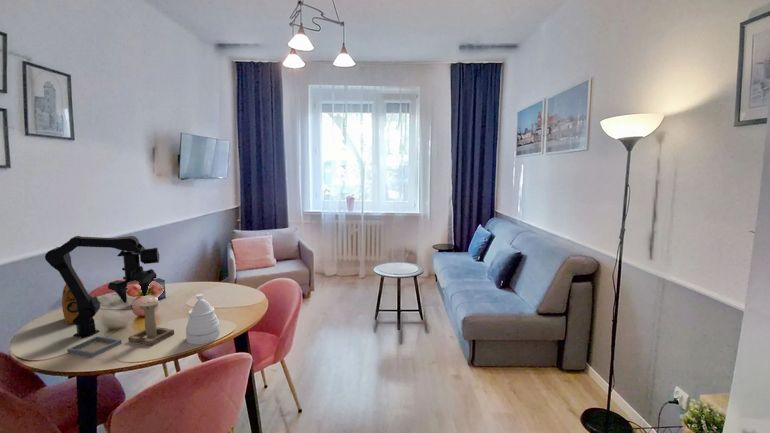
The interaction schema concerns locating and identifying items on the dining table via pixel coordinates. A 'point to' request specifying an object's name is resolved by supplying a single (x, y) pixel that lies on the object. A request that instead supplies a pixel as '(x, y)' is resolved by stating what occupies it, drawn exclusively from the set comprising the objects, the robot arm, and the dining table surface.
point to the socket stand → (145, 341)
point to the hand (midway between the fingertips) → (135, 298)
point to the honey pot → (202, 323)
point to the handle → (149, 318)
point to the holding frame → (91, 354)
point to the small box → (162, 282)
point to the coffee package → (69, 305)
